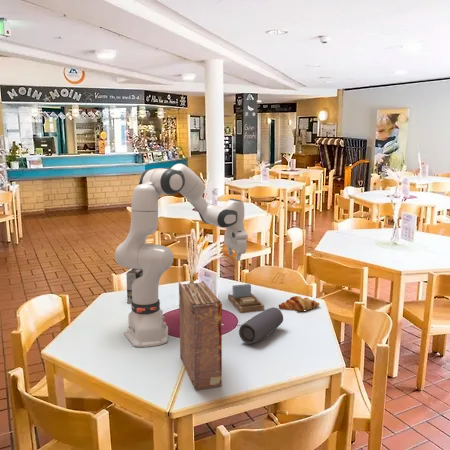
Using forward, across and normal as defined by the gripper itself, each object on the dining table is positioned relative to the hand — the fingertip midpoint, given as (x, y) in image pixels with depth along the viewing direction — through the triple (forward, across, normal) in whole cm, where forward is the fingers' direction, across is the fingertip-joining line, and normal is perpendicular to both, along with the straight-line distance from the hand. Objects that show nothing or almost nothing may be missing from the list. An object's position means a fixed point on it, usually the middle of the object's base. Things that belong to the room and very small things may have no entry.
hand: (234, 257), depth 235 cm
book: (+20, +63, -40) cm, 77 cm away
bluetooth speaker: (+21, +45, -6) cm, 50 cm away
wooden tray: (+22, +11, +2) cm, 25 cm away
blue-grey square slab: (+22, +5, +3) cm, 22 cm away
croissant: (+22, +24, +25) cm, 41 cm away
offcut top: (+20, +13, +2) cm, 23 cm away
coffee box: (+24, -18, -46) cm, 55 cm away
